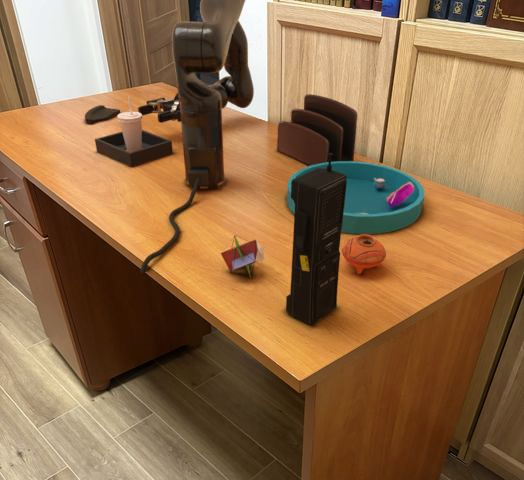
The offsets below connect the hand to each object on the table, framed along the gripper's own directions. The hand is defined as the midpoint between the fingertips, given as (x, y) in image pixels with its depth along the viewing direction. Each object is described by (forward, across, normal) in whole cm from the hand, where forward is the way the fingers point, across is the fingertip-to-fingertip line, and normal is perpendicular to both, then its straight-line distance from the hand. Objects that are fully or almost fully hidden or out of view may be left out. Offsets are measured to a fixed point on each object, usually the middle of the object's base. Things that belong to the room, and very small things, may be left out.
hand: (148, 115), depth 141 cm
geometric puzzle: (+28, +64, +9) cm, 70 cm away
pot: (+12, +78, +9) cm, 80 cm away
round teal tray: (-10, +61, +9) cm, 62 cm away
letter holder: (-25, +37, +9) cm, 45 cm away
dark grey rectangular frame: (+6, 0, +8) cm, 10 cm away
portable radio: (+30, +81, +9) cm, 86 cm away
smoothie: (+6, 0, +9) cm, 11 cm away
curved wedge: (-5, -34, +9) cm, 35 cm away
